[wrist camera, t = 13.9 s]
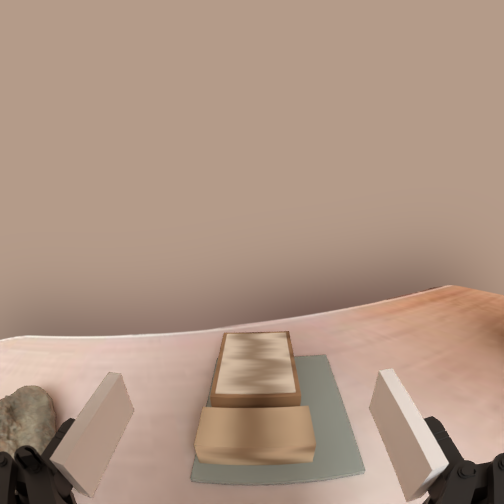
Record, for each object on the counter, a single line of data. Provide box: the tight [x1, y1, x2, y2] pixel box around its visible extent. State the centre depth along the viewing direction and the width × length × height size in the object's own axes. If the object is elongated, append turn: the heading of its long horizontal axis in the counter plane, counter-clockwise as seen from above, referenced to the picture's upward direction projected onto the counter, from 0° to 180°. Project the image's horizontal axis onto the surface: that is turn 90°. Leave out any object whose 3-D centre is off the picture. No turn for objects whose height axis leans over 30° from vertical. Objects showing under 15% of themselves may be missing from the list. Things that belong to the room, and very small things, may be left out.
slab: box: [210, 331, 301, 408], centre depth 32 cm, size 9×3×14 cm
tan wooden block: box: [194, 405, 316, 465], centre depth 22 cm, size 10×5×3 cm, turn 89°
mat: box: [191, 355, 365, 485], centre depth 27 cm, size 15×20×1 cm
